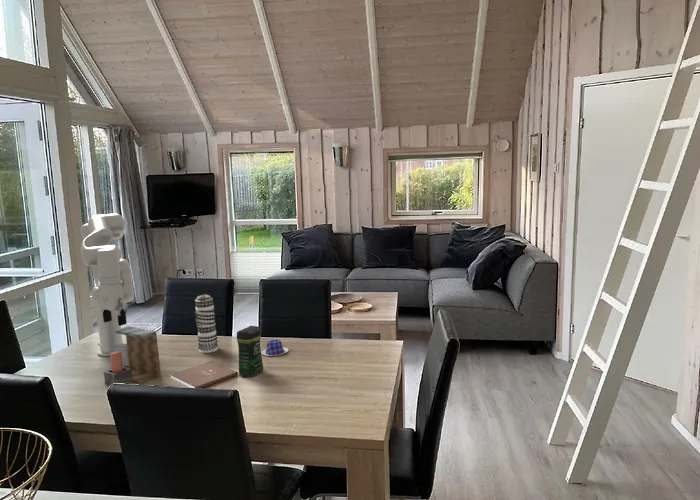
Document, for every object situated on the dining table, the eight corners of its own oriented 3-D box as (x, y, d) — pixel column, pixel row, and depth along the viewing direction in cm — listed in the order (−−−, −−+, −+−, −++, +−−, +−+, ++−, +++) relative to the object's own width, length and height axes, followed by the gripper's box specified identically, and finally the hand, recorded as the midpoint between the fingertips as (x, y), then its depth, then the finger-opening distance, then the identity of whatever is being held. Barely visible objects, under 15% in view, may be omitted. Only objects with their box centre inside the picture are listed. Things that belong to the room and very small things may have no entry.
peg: (111, 383, 214) (107, 353, 212) (120, 380, 217) (117, 350, 215) (117, 385, 212) (113, 355, 210) (126, 381, 215) (123, 352, 213)
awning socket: (97, 381, 216) (91, 337, 214) (133, 368, 230) (128, 326, 227) (124, 390, 206) (119, 343, 204) (160, 375, 220) (156, 331, 217)
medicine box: (135, 363, 236) (133, 343, 235) (128, 367, 232) (126, 347, 231) (120, 362, 239) (118, 342, 237) (113, 365, 234) (111, 346, 233)
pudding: (282, 346, 249) (281, 335, 248) (293, 353, 239) (292, 341, 238) (257, 352, 243) (256, 340, 243) (267, 359, 233) (266, 347, 232)
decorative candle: (223, 347, 251) (218, 294, 247) (208, 354, 243) (203, 299, 239) (209, 345, 256) (204, 292, 252) (193, 351, 248) (188, 297, 244)
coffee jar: (252, 378, 211) (248, 331, 208) (236, 376, 214) (232, 330, 212) (267, 369, 220) (263, 324, 217) (250, 367, 223) (247, 323, 220)
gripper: (88, 280, 214) (93, 322, 216) (114, 284, 204) (119, 328, 207) (106, 276, 220) (111, 317, 222) (132, 280, 210) (137, 323, 213)
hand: (115, 323), depth 215 cm, fingers open, 9 cm apart
